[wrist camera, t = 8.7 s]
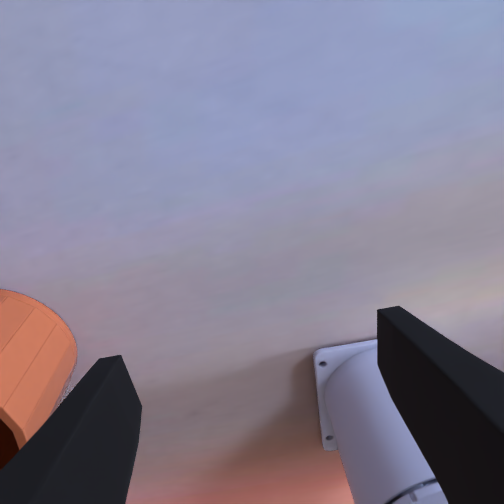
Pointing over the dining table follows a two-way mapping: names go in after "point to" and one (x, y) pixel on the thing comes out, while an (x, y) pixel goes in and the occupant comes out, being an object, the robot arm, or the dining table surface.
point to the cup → (30, 368)
